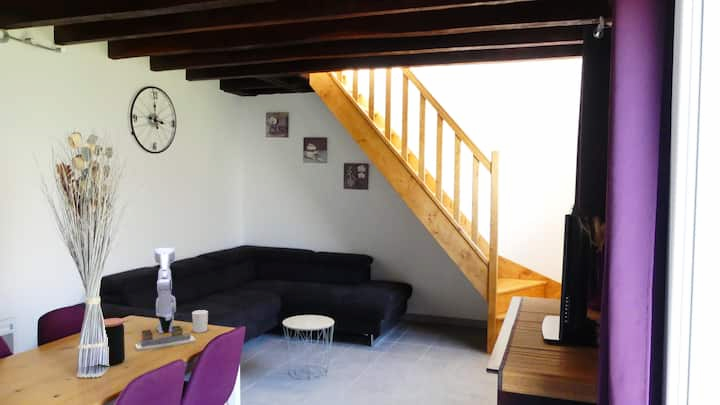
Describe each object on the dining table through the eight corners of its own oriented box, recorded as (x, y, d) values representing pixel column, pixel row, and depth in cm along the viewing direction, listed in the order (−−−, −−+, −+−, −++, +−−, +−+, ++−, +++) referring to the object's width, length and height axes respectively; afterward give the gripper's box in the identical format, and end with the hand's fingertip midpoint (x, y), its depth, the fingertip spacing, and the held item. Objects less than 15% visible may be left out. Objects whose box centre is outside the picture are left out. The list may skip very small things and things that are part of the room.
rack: (140, 341, 258) (140, 330, 257) (181, 335, 267) (180, 325, 267) (142, 345, 252) (142, 333, 252) (183, 338, 262) (183, 328, 262)
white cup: (205, 333, 272) (205, 313, 271) (190, 333, 272) (189, 313, 271) (210, 328, 280) (209, 310, 279) (195, 328, 280) (195, 310, 279)
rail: (140, 341, 247) (141, 342, 245) (188, 333, 259) (190, 335, 256) (140, 347, 248) (141, 349, 245) (188, 339, 259) (190, 341, 256)
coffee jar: (93, 362, 228) (92, 321, 228) (118, 356, 236) (117, 316, 235) (103, 368, 221) (102, 326, 220) (129, 362, 229) (128, 321, 228)
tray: (135, 347, 249) (135, 344, 249) (191, 338, 263) (191, 335, 263) (137, 351, 243) (137, 348, 243) (195, 342, 257) (195, 339, 257)
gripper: (153, 301, 256) (153, 329, 257) (158, 308, 244) (159, 337, 244) (168, 300, 260) (169, 327, 260) (174, 306, 247) (175, 334, 248)
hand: (165, 332), depth 253 cm, fingers open, 3 cm apart
